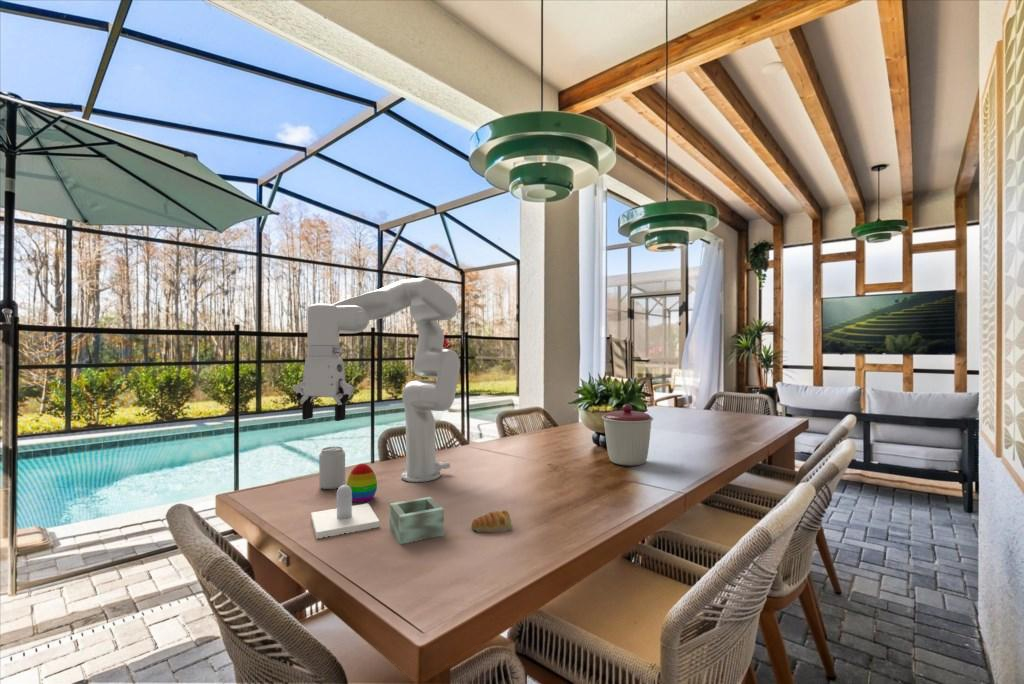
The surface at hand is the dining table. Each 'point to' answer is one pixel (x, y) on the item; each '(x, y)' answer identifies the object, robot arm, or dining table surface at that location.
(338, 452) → the can
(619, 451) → the canister
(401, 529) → the collar
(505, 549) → the dining table surface
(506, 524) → the pastry
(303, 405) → the robot arm
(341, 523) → the post board
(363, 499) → the decorative egg
